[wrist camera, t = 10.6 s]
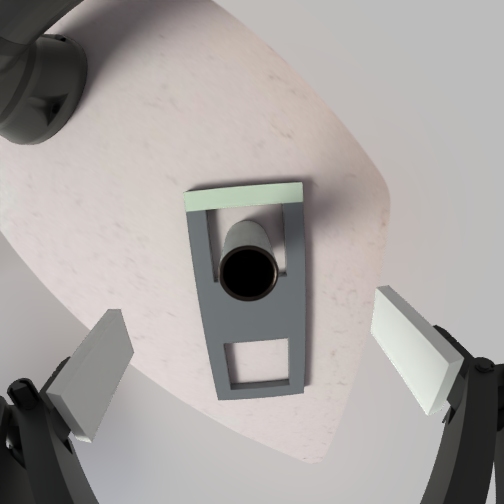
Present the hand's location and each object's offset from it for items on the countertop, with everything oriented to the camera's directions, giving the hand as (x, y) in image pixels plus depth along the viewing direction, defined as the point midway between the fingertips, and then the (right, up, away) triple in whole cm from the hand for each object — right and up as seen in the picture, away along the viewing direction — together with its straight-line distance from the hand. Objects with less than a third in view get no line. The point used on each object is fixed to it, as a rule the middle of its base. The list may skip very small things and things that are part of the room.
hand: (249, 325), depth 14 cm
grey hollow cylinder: (0, +5, +18) cm, 18 cm away
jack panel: (0, -3, +20) cm, 20 cm away
